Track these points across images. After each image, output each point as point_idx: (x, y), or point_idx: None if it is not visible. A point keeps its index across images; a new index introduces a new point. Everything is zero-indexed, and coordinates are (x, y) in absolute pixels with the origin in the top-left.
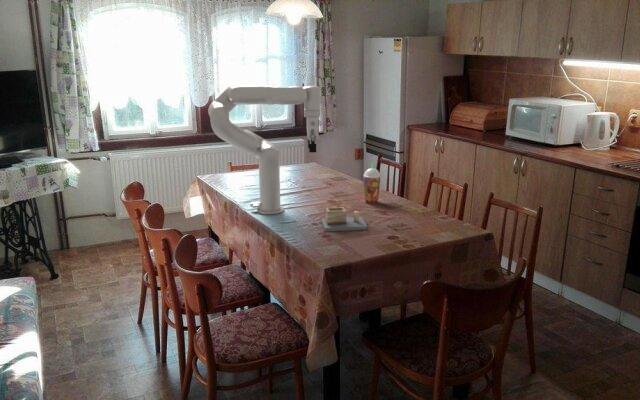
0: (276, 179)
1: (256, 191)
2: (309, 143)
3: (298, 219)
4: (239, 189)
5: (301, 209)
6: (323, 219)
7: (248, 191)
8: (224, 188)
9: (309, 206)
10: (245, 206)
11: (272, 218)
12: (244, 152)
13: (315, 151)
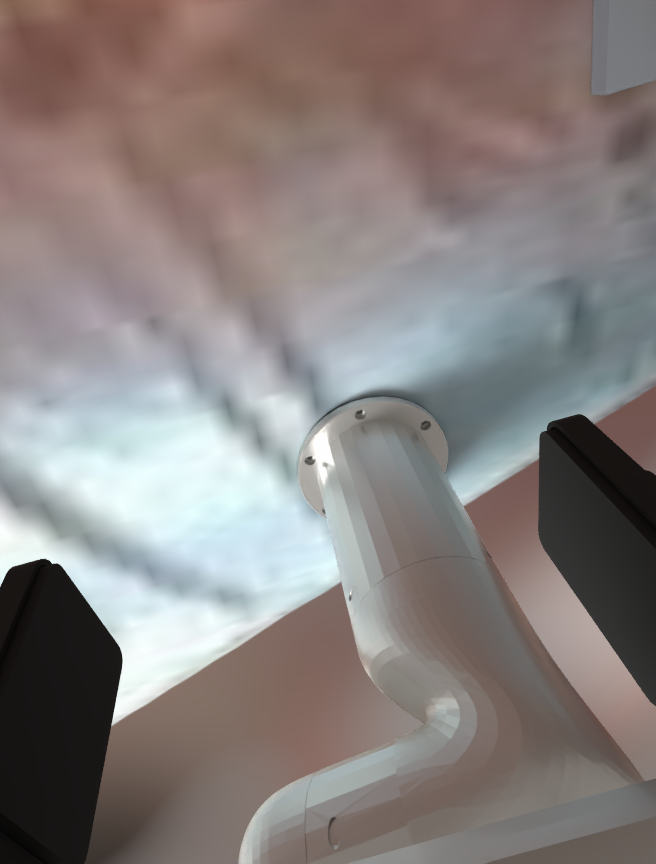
0: (486, 566)
1: None
2: (90, 755)
3: (530, 271)
4: None
5: (323, 298)
6: (636, 71)
7: None
8: None
9: (242, 256)
10: (310, 580)
11: (501, 414)
12: None
13: (582, 434)
